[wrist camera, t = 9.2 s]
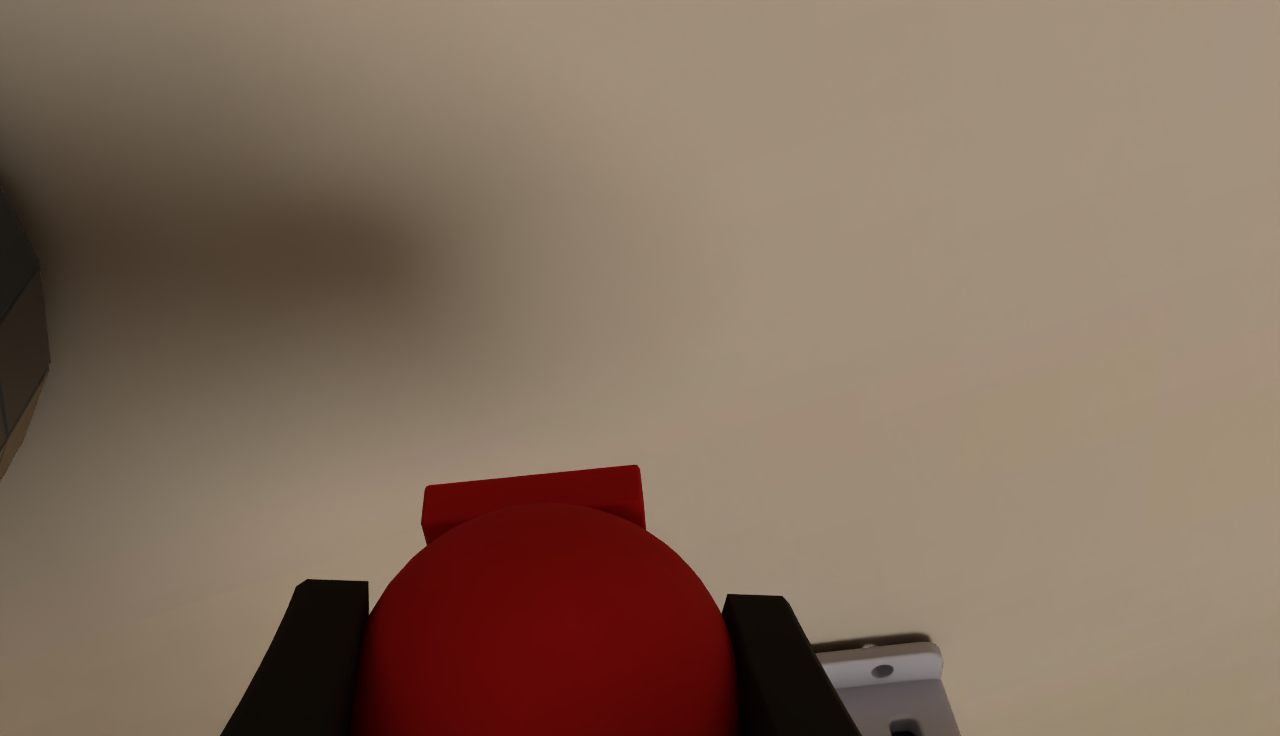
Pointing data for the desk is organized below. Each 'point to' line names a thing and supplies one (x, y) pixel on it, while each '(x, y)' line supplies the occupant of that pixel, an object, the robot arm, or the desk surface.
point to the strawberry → (545, 620)
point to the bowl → (19, 334)
